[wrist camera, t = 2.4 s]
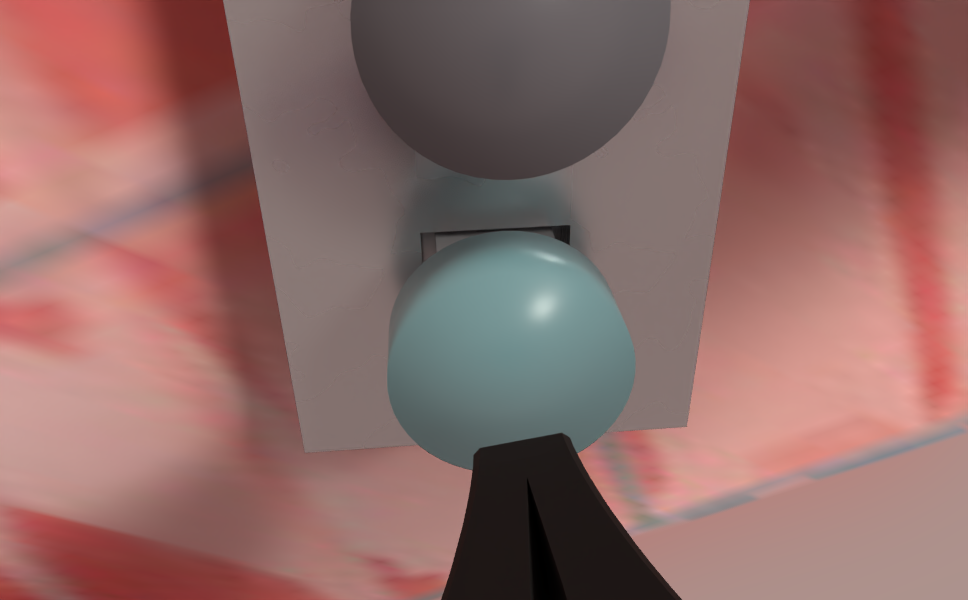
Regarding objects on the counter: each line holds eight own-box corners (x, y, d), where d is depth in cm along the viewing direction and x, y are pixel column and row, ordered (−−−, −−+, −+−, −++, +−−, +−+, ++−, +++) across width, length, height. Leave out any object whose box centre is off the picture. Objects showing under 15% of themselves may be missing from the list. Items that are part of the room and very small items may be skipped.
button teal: (600, 176, 16) (646, 264, 13) (589, 353, 19) (626, 464, 15) (382, 187, 16) (376, 279, 13) (398, 365, 18) (396, 481, 15)
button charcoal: (621, -165, 13) (688, -159, 10) (604, 99, 15) (655, 172, 12) (350, -158, 13) (332, -149, 10) (375, 109, 15) (366, 187, 12)
